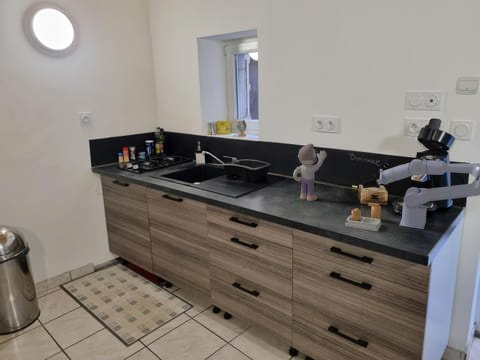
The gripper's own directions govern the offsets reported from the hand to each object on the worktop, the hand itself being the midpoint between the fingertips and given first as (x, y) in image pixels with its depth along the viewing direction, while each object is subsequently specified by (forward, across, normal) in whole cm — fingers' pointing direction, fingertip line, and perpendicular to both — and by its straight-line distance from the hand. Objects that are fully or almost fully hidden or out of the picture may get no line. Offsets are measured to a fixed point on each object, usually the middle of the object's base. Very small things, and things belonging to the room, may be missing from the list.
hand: (364, 183), depth 164 cm
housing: (+5, +9, +16) cm, 19 cm away
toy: (+35, -17, +2) cm, 39 cm away
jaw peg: (+2, 0, +17) cm, 17 cm away
